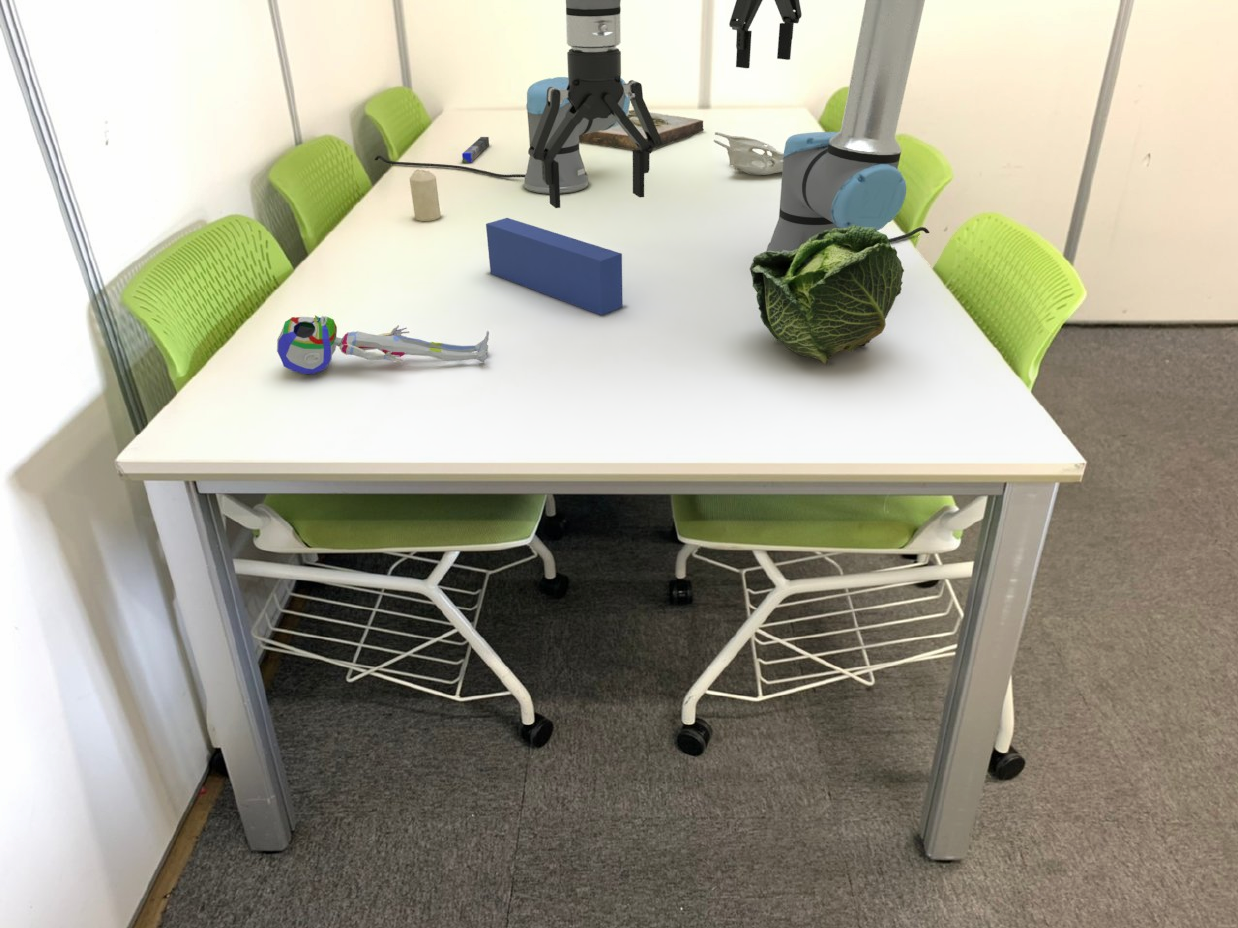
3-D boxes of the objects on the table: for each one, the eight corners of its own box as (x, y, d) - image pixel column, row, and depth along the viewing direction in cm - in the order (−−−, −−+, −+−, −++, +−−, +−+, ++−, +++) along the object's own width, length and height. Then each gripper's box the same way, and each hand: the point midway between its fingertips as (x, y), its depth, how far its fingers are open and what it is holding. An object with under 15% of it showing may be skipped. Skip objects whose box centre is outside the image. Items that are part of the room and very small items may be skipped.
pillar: (488, 137, 250) (469, 154, 234) (489, 145, 251) (470, 162, 235) (480, 137, 251) (461, 154, 234) (481, 145, 252) (462, 162, 235)
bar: (490, 273, 165) (485, 223, 160) (511, 266, 168) (507, 217, 163) (601, 315, 148) (600, 261, 143) (622, 307, 151) (622, 253, 146)
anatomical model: (715, 128, 226) (816, 127, 222) (715, 166, 231) (813, 165, 227) (712, 142, 213) (818, 141, 210) (711, 181, 218) (815, 181, 215)
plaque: (647, 125, 237) (559, 112, 252) (647, 153, 241) (560, 139, 256) (706, 107, 258) (622, 97, 273) (705, 133, 262) (622, 121, 277)
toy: (488, 343, 128) (268, 326, 123) (485, 396, 132) (272, 381, 127) (490, 315, 136) (284, 298, 132) (486, 366, 141) (287, 351, 136)
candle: (445, 214, 196) (439, 168, 191) (432, 222, 192) (426, 174, 186) (423, 212, 198) (416, 166, 192) (410, 220, 193) (403, 172, 188)
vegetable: (780, 374, 144) (722, 268, 136) (876, 307, 145) (825, 198, 137) (841, 402, 125) (779, 281, 118) (951, 325, 127) (897, 200, 119)
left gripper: (747, -58, 157) (740, 73, 168) (826, -63, 172) (815, 57, 183) (713, -58, 161) (709, 69, 172) (793, -64, 176) (784, 54, 187)
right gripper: (515, 57, 118) (526, 217, 129) (686, 45, 126) (682, 197, 137) (500, 50, 124) (511, 203, 135) (663, 39, 132) (661, 185, 143)
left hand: (763, 63), depth 178 cm, fingers open, 13 cm apart
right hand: (597, 200), depth 136 cm, fingers open, 13 cm apart
